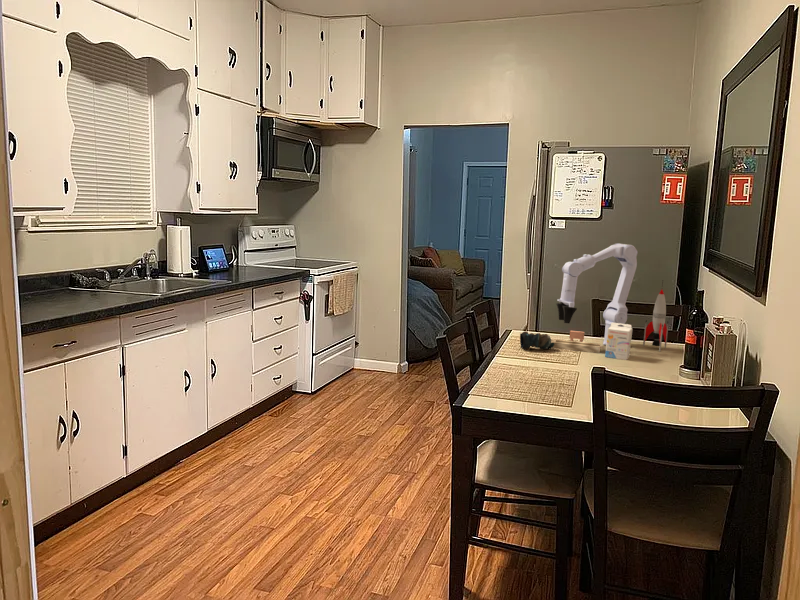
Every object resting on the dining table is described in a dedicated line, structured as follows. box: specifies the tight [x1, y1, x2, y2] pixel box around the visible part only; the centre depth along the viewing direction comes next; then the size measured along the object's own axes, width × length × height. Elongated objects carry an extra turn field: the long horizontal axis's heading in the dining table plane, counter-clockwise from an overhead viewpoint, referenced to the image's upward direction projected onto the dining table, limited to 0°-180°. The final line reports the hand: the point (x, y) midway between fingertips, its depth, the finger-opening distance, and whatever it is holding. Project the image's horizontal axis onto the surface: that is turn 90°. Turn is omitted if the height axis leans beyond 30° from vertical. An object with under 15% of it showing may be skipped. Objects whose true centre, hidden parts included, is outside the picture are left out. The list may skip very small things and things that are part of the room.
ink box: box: [604, 322, 633, 361], centre depth 246 cm, size 9×8×13 cm
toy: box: [642, 281, 669, 352], centre depth 260 cm, size 10×9×30 cm
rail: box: [551, 338, 601, 354], centre depth 258 cm, size 20×7×2 cm, turn 71°
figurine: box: [519, 331, 555, 352], centre depth 254 cm, size 9×8×15 cm
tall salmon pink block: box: [569, 330, 585, 342], centre depth 267 cm, size 6×2×6 cm, turn 71°
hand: (564, 321), depth 262 cm, fingers open, 7 cm apart
